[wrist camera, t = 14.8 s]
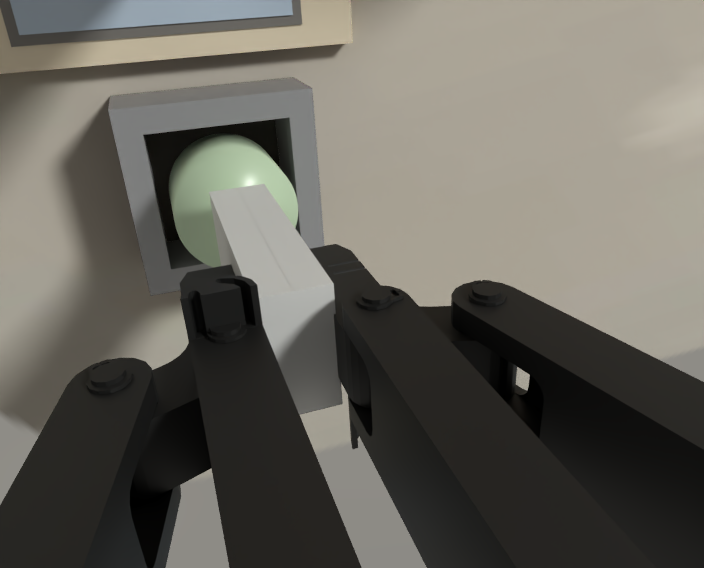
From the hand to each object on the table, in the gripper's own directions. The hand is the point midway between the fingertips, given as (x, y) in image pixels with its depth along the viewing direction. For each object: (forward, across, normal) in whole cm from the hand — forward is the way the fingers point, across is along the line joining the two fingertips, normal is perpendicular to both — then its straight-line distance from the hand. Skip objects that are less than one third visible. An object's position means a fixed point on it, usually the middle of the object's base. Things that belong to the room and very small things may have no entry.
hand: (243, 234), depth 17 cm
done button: (+4, 0, 0) cm, 4 cm away
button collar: (+6, 0, 0) cm, 6 cm away
